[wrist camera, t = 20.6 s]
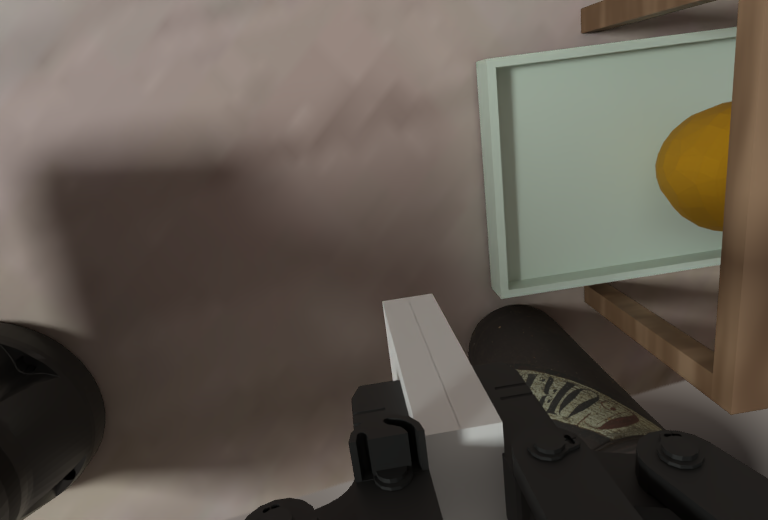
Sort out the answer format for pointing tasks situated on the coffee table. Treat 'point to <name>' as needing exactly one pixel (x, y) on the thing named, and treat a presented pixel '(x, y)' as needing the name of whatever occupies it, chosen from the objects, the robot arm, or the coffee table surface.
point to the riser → (740, 229)
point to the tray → (593, 159)
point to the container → (562, 378)
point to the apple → (697, 166)
